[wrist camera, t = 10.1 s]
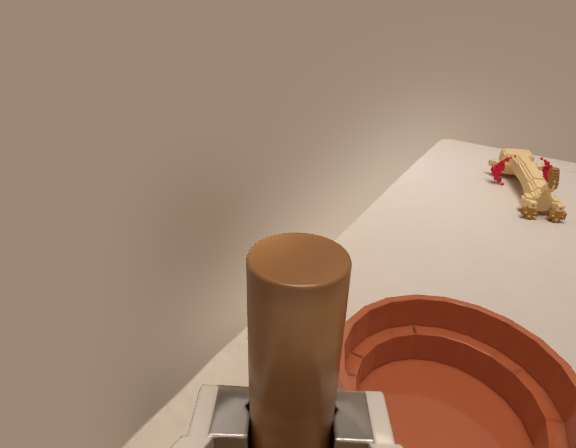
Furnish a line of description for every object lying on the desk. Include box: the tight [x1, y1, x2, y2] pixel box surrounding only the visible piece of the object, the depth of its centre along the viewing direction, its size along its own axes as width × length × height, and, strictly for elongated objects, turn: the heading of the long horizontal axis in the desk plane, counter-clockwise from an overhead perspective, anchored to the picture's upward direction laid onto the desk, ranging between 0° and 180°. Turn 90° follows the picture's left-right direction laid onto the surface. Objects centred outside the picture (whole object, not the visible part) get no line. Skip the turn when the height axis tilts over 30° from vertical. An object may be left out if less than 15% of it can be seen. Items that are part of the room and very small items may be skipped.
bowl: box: [337, 295, 576, 448], centre depth 27 cm, size 15×15×6 cm
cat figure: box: [488, 148, 567, 223], centre depth 69 cm, size 10×9×25 cm
